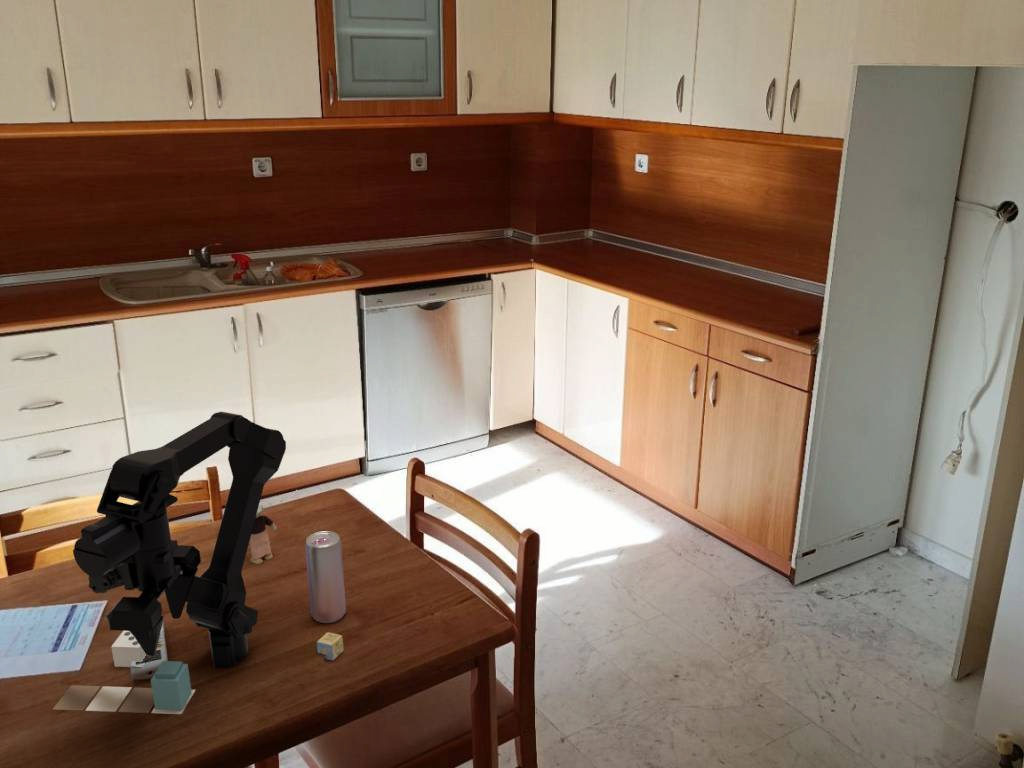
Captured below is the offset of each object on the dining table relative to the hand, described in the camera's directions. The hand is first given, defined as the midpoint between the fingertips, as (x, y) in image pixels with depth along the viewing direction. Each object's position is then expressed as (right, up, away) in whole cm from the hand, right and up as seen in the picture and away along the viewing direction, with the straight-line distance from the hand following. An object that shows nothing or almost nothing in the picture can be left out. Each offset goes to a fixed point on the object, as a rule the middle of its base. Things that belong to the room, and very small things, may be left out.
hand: (164, 636), depth 137 cm
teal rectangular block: (0, -11, +4) cm, 12 cm away
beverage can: (+19, -4, +27) cm, 33 cm away
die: (-10, -8, +14) cm, 19 cm away
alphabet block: (+21, -8, +16) cm, 28 cm away
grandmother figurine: (+2, +3, +45) cm, 45 cm away
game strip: (-8, -11, +5) cm, 14 cm away
